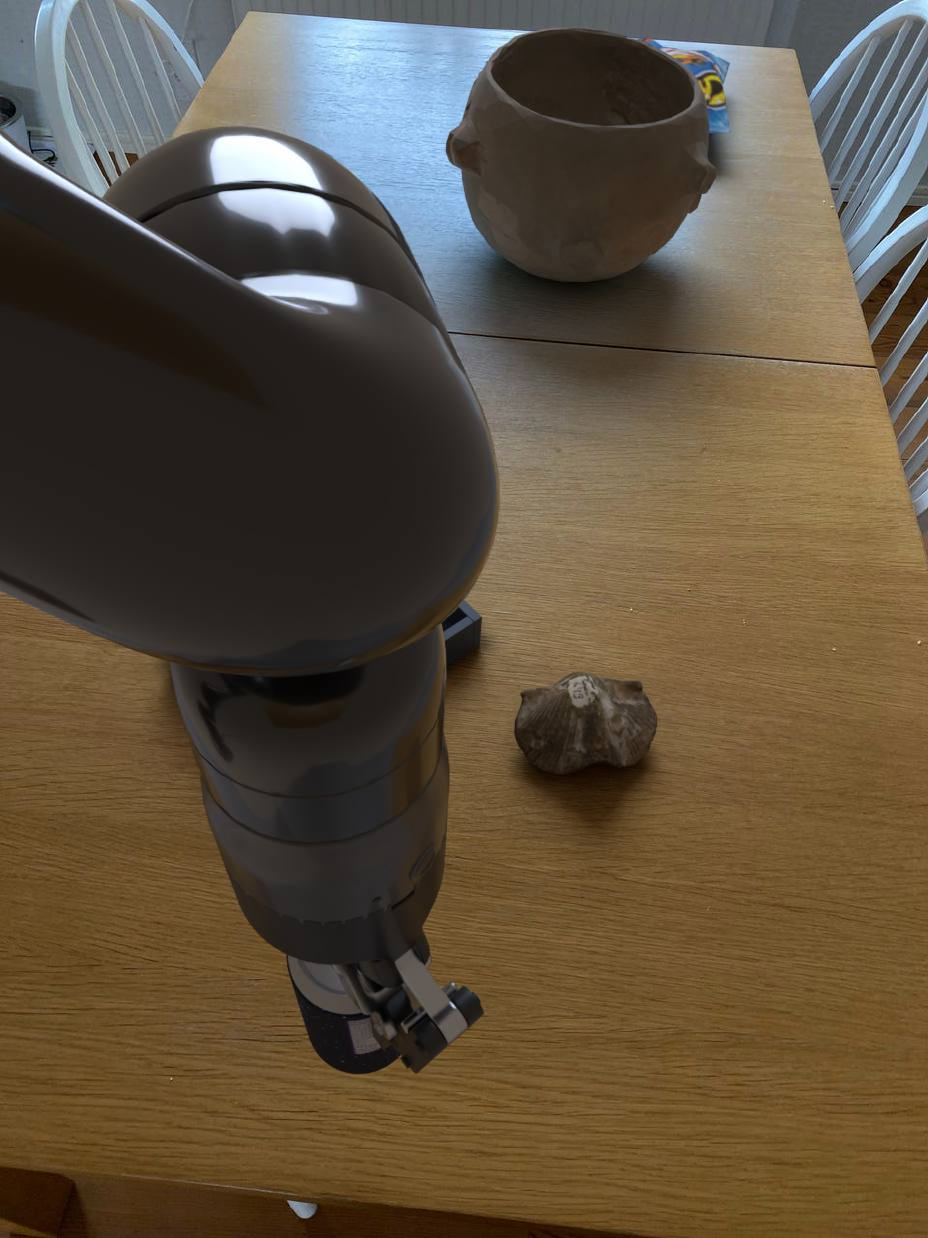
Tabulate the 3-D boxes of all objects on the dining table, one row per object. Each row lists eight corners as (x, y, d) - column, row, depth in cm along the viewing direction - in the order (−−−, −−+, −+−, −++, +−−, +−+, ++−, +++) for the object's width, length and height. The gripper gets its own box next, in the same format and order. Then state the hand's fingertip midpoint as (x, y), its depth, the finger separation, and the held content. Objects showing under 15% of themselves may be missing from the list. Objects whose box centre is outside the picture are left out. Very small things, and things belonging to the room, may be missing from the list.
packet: (592, 157, 124) (603, 88, 118) (603, 77, 139) (613, 11, 132) (726, 172, 123) (744, 103, 117) (723, 89, 138) (739, 24, 131)
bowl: (691, 205, 118) (733, 25, 102) (683, 345, 101) (731, 155, 85) (473, 178, 120) (480, -2, 104) (428, 310, 103) (428, 119, 87)
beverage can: (409, 957, 52) (408, 866, 43) (424, 1068, 49) (426, 996, 39) (304, 974, 52) (279, 885, 42) (311, 1087, 48) (287, 1019, 39)
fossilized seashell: (659, 678, 72) (526, 670, 74) (659, 671, 65) (513, 663, 67) (654, 780, 71) (520, 769, 73) (654, 783, 64) (506, 771, 66)
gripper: (118, 717, 33) (203, 906, 46) (371, 1069, 26) (385, 1170, 39) (303, 611, 36) (332, 816, 49) (569, 901, 29) (520, 1047, 43)
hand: (356, 973), depth 44 cm, fingers closed on beverage can, 5 cm apart
